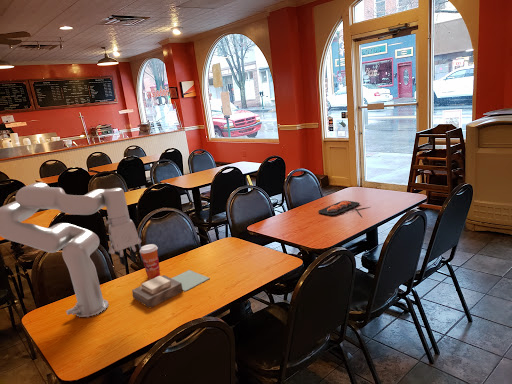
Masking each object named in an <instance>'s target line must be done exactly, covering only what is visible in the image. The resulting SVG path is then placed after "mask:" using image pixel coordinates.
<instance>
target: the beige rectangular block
mask: <svg viewBox="0 0 512 384" xmlns="http://www.w3.org/2000/svg"><path fill="white" fill-rule="evenodd" d="M161 276H162V275H160V276H158V277H155V278H153V279H149V280H147V281H144V282H142V283H141V285H140V286H142V289H144V290H146V291H148V292H150V293H152V294H154V293H156V292H158V291H160V290H162V289H164V288H166V287H168V286H170V285H171V281H170V280H168V279H166V278H164V277H161Z"/></svg>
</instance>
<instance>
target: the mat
mask: <svg viewBox="0 0 512 384" xmlns="http://www.w3.org/2000/svg"><path fill="white" fill-rule="evenodd" d="M170 278H171V279H174V280H176V281H178V282H180V283H181V284H182V289H183V292H187V291H189V290H191V289H192V288H195V287H196V286H199V285H201V284H202V283H204V282H206V281H208V280H210V277H208V276H206V275H203V274H200V273H198V272H195V271H193V270H191V269H188V270H186V271H184V272H182V273H180V274H178V275H175V276H173V277H170Z"/></svg>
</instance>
